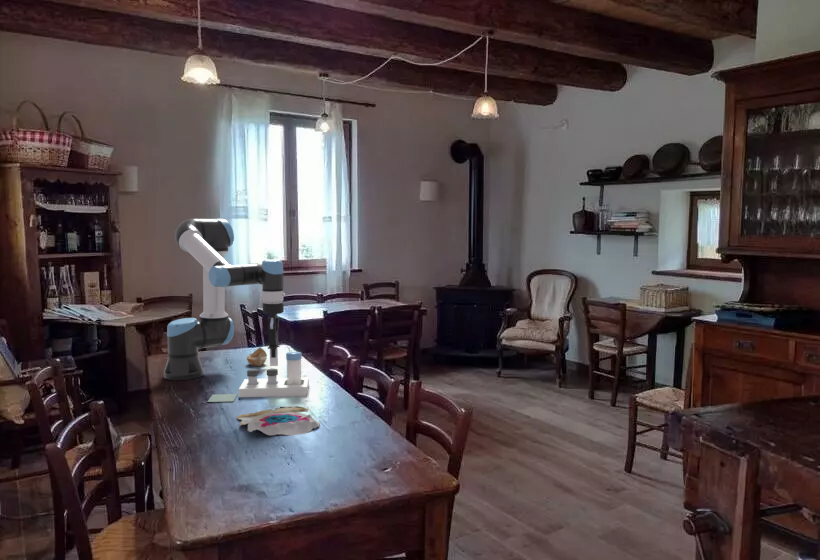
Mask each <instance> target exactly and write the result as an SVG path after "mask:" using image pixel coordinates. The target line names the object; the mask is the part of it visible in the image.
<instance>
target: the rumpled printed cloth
mask: <svg viewBox="0 0 820 560" xmlns="http://www.w3.org/2000/svg"><path fill="white" fill-rule="evenodd" d="M279 407H280V408H279ZM279 407H277V408H274V409H266V410H264V409H263V410H259V411H255V412H251V413H242V414H239V415H238V416H236V419H238V420H240V422H239V426H242V425H244V426H245V425H247V431H248V432H249V433H252V432H253V431H256V430H257V431H260V432H262V433H263V434H265V435H267V436H276V435H285V436H290V437H291V436H296V435H297V436H298V435H303V434H308V433H310V432H311V431H312V430H313V429H317V428H318V427H320V425H321V423H320V422H319V421H317V420H316V419H314V418H313V416H311V414H305V413H309V409H308V408H306V407H303V406H279Z"/></svg>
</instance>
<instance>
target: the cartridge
mask: <svg viewBox="0 0 820 560" xmlns="http://www.w3.org/2000/svg"><path fill="white" fill-rule="evenodd" d="M285 359H286V378H287V385H301V377H302V352H301V351H290V352H289V351H288V352H286V353H285Z"/></svg>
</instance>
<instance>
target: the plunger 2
mask: <svg viewBox="0 0 820 560" xmlns="http://www.w3.org/2000/svg"><path fill="white" fill-rule="evenodd" d="M278 371H279V370H278V368H269V369H266V376H267V378H268V385H269V384H277V378H278V377H277V376H278Z"/></svg>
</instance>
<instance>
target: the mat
mask: <svg viewBox="0 0 820 560" xmlns="http://www.w3.org/2000/svg"><path fill="white" fill-rule="evenodd" d="M238 396H239V393H226V394H225V393H224V394H223V393H222V394H212V395H211V396H210V397H209V399H208V400H207V402H222V403H234V402H235V401H236V399H237V397H238ZM207 402H206V403H207Z"/></svg>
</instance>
